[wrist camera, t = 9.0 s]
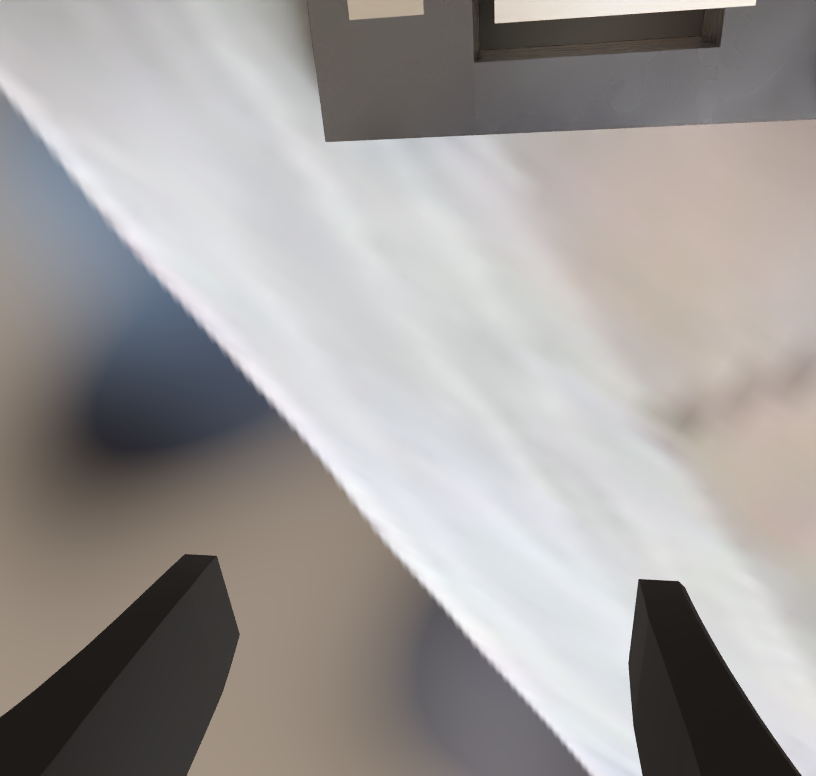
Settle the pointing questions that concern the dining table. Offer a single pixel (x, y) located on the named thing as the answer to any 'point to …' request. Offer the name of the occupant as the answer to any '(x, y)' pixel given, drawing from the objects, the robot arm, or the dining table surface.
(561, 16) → the plug
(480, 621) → the dining table surface
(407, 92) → the port panel
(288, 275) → the dining table surface
